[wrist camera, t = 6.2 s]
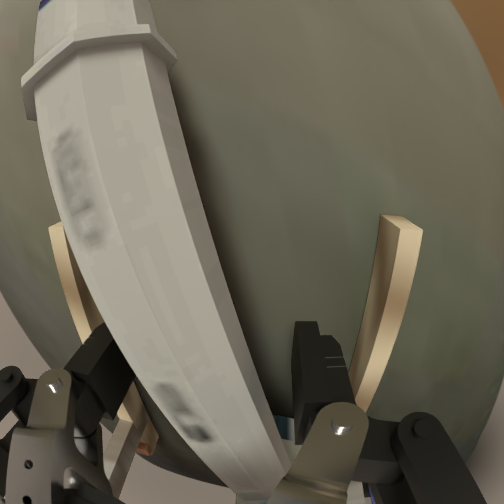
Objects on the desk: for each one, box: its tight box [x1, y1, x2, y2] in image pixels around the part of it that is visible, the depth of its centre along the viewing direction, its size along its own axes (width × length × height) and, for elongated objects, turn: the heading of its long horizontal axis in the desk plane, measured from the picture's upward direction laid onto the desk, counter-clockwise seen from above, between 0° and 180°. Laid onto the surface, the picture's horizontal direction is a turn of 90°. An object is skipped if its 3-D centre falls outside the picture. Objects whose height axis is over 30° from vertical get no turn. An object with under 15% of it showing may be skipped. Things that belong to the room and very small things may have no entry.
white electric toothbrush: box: [21, 0, 302, 504], centre depth 9 cm, size 5×7×25 cm
